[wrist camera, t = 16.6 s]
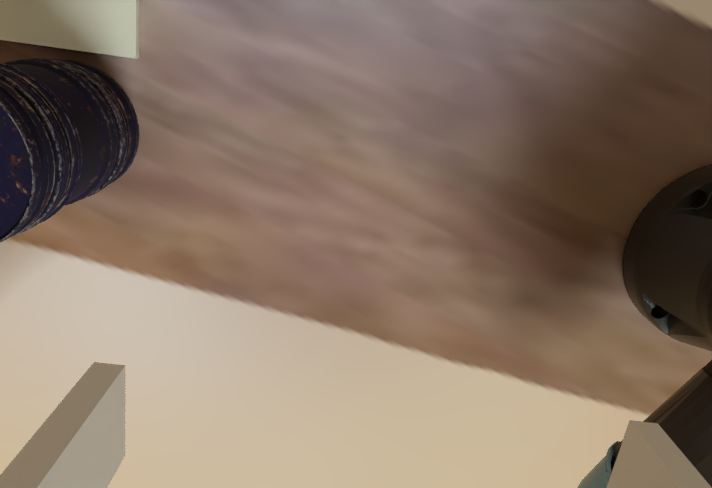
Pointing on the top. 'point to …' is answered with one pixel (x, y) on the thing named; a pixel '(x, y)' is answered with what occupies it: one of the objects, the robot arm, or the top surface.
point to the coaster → (74, 25)
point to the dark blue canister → (59, 138)
